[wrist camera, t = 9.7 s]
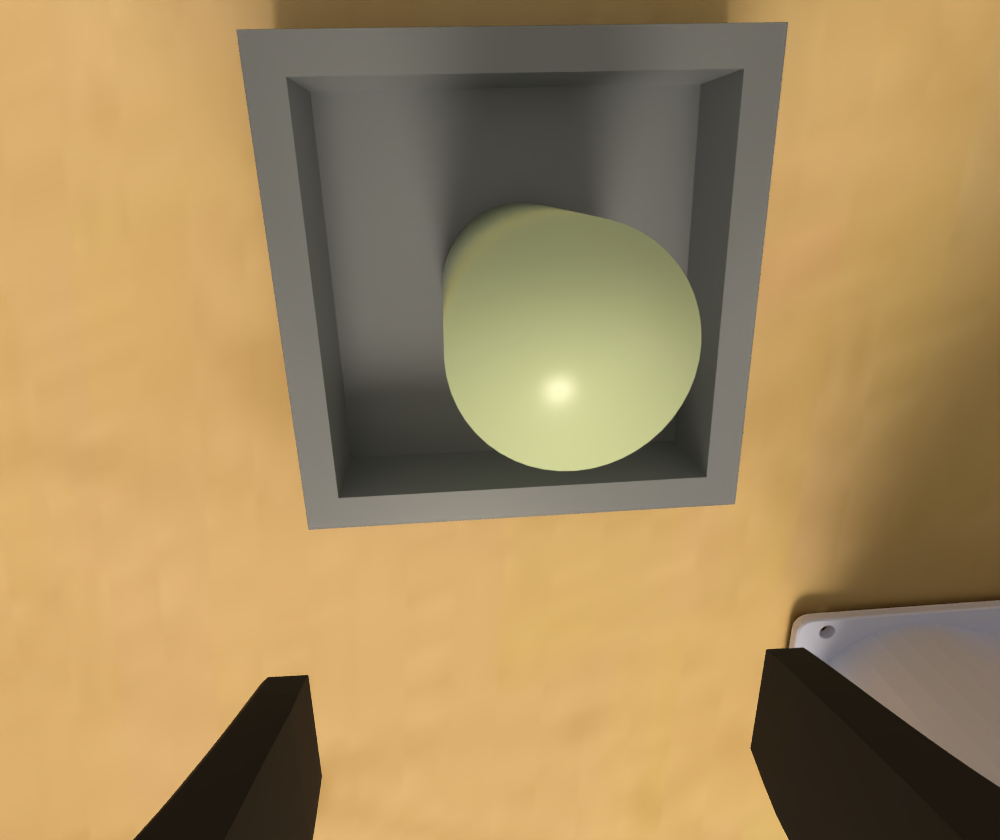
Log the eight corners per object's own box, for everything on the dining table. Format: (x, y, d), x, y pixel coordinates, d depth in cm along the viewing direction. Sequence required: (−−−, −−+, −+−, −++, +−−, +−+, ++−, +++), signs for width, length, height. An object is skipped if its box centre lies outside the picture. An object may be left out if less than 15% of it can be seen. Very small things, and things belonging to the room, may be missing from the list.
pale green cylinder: (599, 198, 16) (709, 209, 10) (598, 357, 18) (693, 461, 11) (436, 206, 16) (433, 223, 9) (448, 366, 17) (453, 480, 11)
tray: (726, 49, 16) (787, 22, 13) (693, 456, 19) (735, 504, 17) (275, 56, 15) (236, 29, 12) (329, 476, 19) (308, 529, 16)
